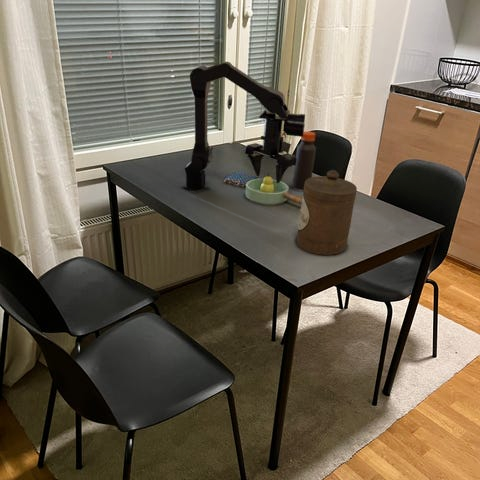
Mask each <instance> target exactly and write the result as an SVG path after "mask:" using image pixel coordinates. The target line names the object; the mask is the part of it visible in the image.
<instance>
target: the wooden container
mask: <svg viewBox="0 0 480 480" xmlns="http://www.w3.org/2000/svg"><path fill="white" fill-rule="evenodd" d="M357 189H358V188H357V185H356V184H354V183H353V182H351V181H349V180H347V179H343V178H340V174H339V172H337V170H335V169H331V170H329V171H327V172H326V176H323V175H321V176H320V175H319V176H312V178H309V179H307V180H306V181H305V184H304V190H302V191H303V192H302V193H303V194H302V205H301V204H300V206H301V207H300V212H299V218H298V226H297V234H296V244H297V245H298V247H300V248H301V249H302V250H304V251H306V252H308V253H312V254H316V255H320V256H321V255H322V256H329V255H337V254H340V253H343V252H344V251H345V250H346V248H347V244H348V239H349V234H350V230H351V224H352V218H353V211H354V205H355V202H356V201H355V200H356V196H357Z"/></svg>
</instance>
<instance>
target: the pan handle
mask: <svg viewBox="0 0 480 480" xmlns="http://www.w3.org/2000/svg"><path fill="white" fill-rule="evenodd" d="M283 197H284V198H285V199H287V201H290V202H293V203H295V204H298V205H300V206H301V205H302V199H303V197H300V196H297V195H294V194H292V193H289V192H288V193H284V194H283Z"/></svg>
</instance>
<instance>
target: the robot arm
mask: <svg viewBox="0 0 480 480" xmlns="http://www.w3.org/2000/svg"><path fill="white" fill-rule="evenodd" d="M222 78H225V79H226V80H228V81H230V82H231V83H233V84H234V85H236V86H237V87H239V88H240V89H242V90H244V91H245V92H246V93H248V94H249V95H251V96H253V97H254V98H255V99H256V100H257V101H258V102H259V103H260V104H261V106H262V107H263V108H264V111H263V112H261V113H260V115H259V116H258V118H259V119H262V120H264V126H263V135H261V136H260V140H261V141H262V144H260V143H257V142H255V143H251V144H247V145H246V146H245V148H244V154H245V155H246V156H247V158H248V159H249V160H250V163H251V165H252V167H253V170H254V173H255V175H256V177H260V175H261V166H262V159H263V157H267V158H270V159H273V160H276V163H277V164H275V180H276V182H277V184H278V183H280V181H281V180H282V179H283V177H284V175H285V172H286V171H287V170H288V168H291V167H292V166H295V164H296V161H297V158H296V154H292V153H290V149H291V146H292V144H291V143H290V142H287V141H284V136H283V135H282V132H283V133H284V134H285V135H286V136H294V137H300V138H301V137H303V134H304V132H305V127H306V122H305V121H306V114H304V113H290V112H291V111H290V110H289V108H288V105H287V104H286V96H285V95H284V93H283V92H282V91H279V90H277V89H275V88H273V87H269V86H267V85H264V84H262V83H260V82H259V81H257V80H256V79H254V78H253V77H252V76H250V75H248V74H246V73H245V72H243V70H240V69H239V68H237V67H236V66H235V65H234V64H232V63H231V62H230V61H223V62H222V63H219V64H214V65H210V66H206V65H199V66H197V67H195V68H193V69H192V70H191V72H190V73H189V83H190V89H191V92H192V95H193V98H194V99H193V101H194V145H193V149H192V153H191V160H190V162H189V163H187V165H186V166H185V167H184V172H185V176H186V177H185V185H183V189H186V190H188V191H190V192H192V191H193V192H198V191H202V190H204V189H208V186H206V170H205V169H206V168H207V167H208V165H209V164H210V163H211V161H212V160H213V158H214V155H213V150H214V146H213V145H209V141H208V97H209V92H210V89H211V84H212V82H213V81H216V80H218V79H222ZM284 152H285V153H284ZM281 182H282V181H281Z"/></svg>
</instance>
